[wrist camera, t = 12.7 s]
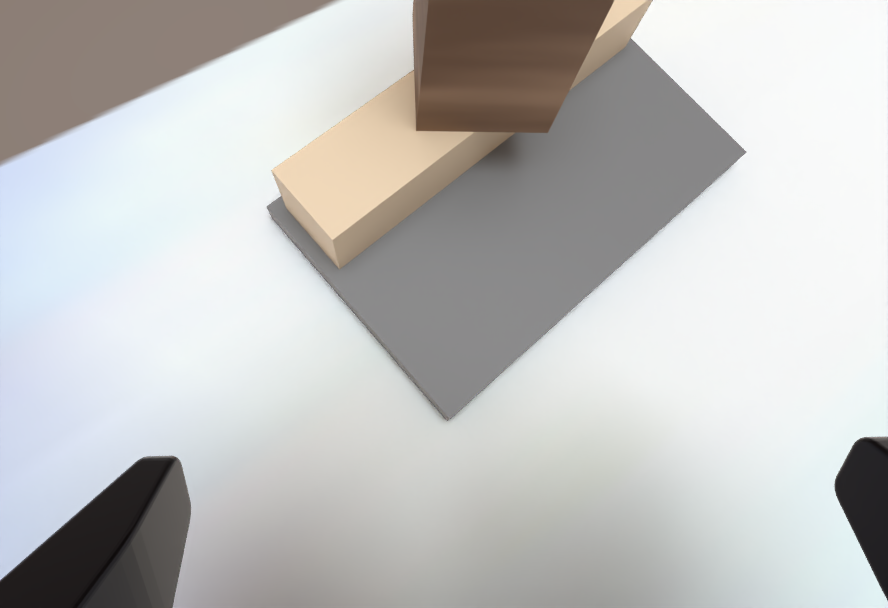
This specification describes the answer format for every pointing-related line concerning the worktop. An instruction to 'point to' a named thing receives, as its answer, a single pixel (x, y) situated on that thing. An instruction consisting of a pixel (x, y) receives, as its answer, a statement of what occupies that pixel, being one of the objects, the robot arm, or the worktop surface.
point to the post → (499, 61)
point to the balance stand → (496, 210)
